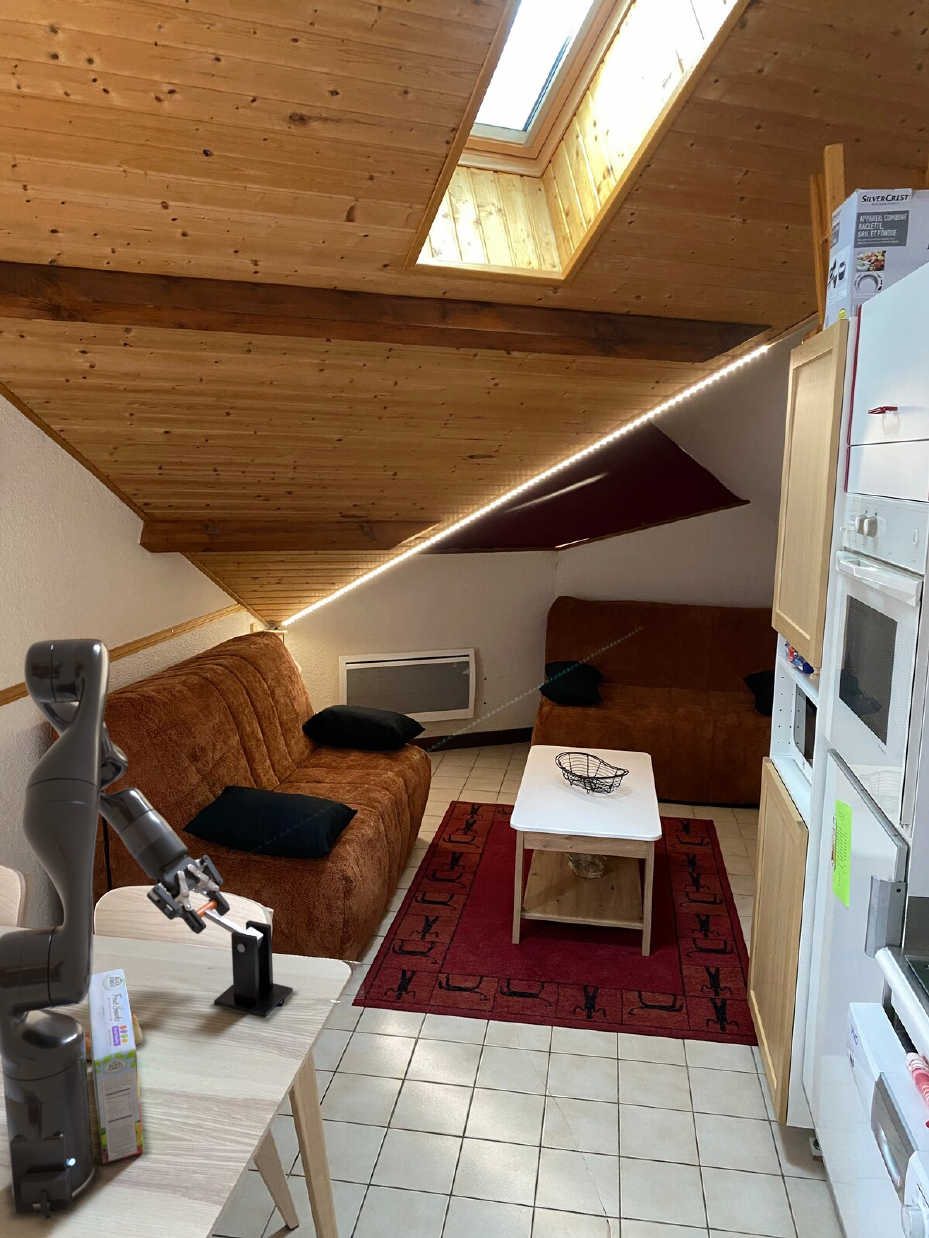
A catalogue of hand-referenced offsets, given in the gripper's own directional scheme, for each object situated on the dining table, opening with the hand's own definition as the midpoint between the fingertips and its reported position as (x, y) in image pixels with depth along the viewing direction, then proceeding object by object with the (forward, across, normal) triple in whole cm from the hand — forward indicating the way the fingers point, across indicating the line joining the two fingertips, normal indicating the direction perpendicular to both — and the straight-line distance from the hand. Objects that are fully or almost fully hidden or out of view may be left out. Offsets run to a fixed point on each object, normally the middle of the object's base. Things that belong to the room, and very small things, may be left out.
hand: (214, 921), depth 151 cm
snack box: (+12, -29, +6) cm, 32 cm away
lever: (+3, 0, -1) cm, 3 cm away
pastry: (+5, -18, +13) cm, 23 cm away
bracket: (+14, 0, +4) cm, 15 cm away
